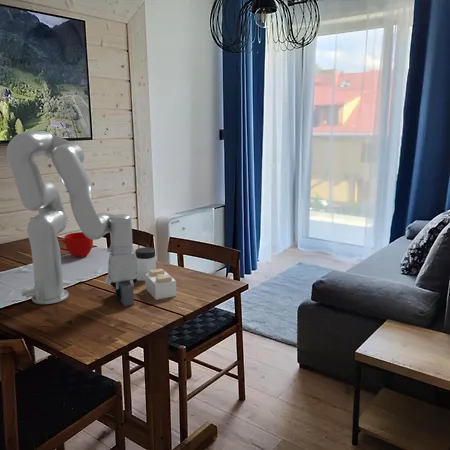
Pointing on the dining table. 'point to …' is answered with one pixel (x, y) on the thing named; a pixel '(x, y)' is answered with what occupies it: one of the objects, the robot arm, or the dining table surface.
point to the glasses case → (126, 293)
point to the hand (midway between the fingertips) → (124, 296)
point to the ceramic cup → (77, 244)
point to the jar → (145, 261)
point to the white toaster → (160, 284)
